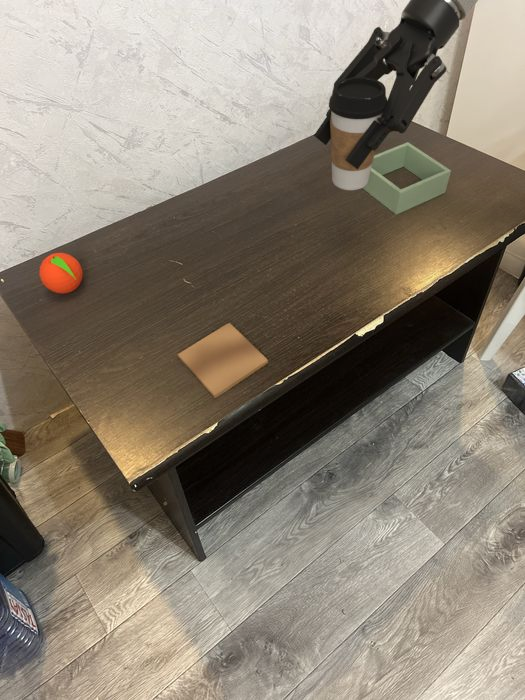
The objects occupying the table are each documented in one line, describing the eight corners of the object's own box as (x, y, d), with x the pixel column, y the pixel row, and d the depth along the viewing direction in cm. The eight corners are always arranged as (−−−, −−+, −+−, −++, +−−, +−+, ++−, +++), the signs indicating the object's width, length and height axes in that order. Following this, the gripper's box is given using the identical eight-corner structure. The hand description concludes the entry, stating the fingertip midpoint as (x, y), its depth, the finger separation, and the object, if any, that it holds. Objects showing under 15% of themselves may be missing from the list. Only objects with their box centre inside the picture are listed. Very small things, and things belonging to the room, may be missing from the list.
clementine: (100, 286, 89) (87, 256, 83) (69, 310, 86) (53, 280, 80) (71, 268, 92) (56, 238, 86) (40, 291, 89) (23, 260, 83)
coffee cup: (318, 190, 81) (322, 96, 69) (332, 161, 86) (338, 69, 74) (369, 199, 79) (382, 103, 67) (381, 169, 84) (395, 75, 72)
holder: (445, 192, 101) (451, 170, 97) (396, 214, 97) (400, 192, 93) (403, 163, 107) (407, 142, 104) (356, 183, 104) (358, 161, 100)
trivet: (268, 362, 77) (268, 359, 76) (215, 398, 73) (214, 395, 73) (229, 325, 82) (229, 322, 81) (178, 357, 78) (177, 354, 78)
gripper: (505, 46, 65) (389, 194, 74) (403, 2, 77) (311, 134, 85) (488, 9, 60) (364, 174, 68) (380, -33, 71) (284, 113, 79)
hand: (335, 152), depth 77 cm, fingers closed on coffee cup, 8 cm apart
